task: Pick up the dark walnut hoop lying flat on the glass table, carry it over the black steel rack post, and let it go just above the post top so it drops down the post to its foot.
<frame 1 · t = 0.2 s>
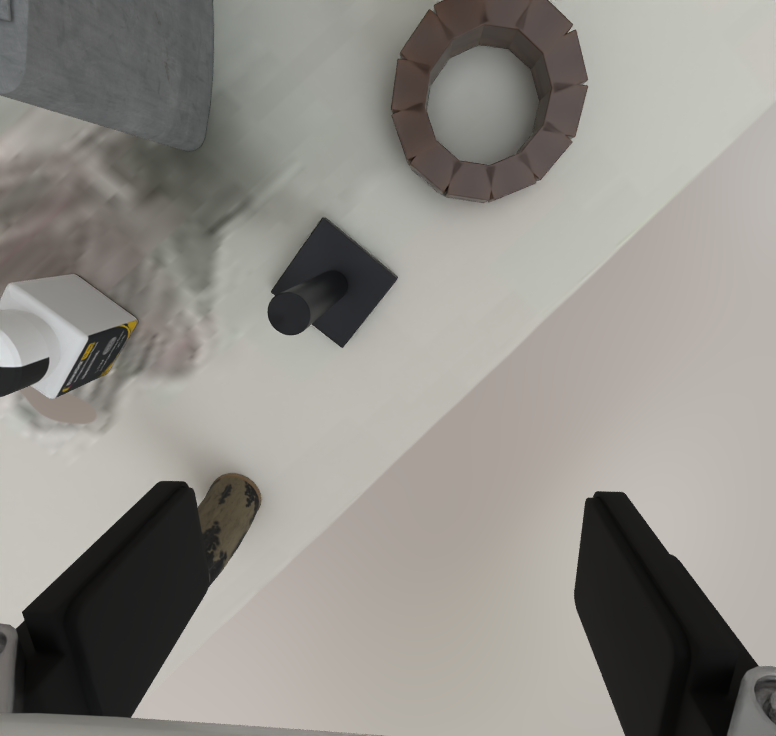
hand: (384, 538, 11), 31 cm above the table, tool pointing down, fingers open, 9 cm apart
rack: (335, 284, 40), on the table
hip flask: (192, 41, 35), on the table
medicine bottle: (93, 324, 43), on the table
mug: (227, 492, 48), on the table
hoop: (481, 110, 35), on the table
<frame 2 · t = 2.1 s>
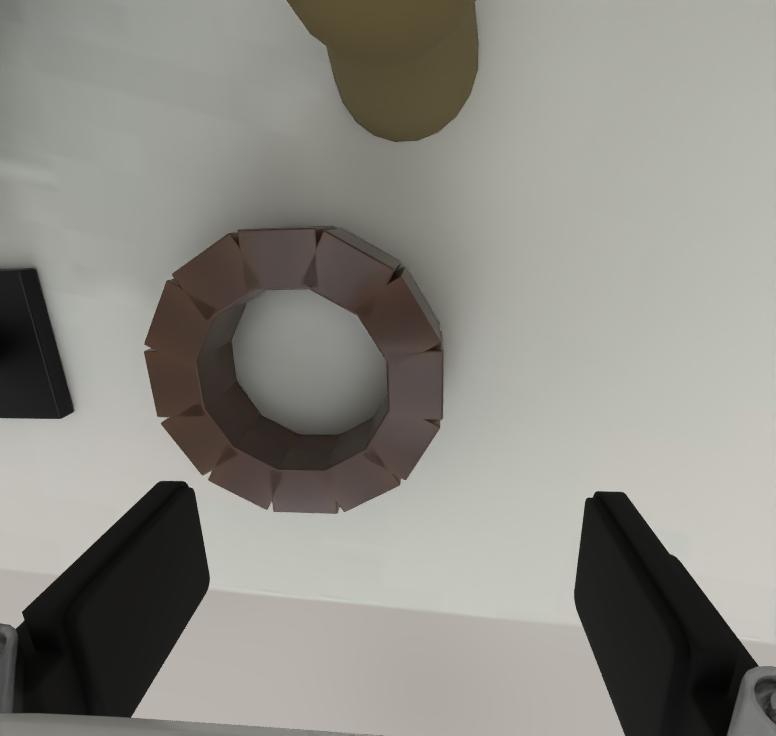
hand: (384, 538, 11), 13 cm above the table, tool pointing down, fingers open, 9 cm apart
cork: (405, 62, 19), on the table
hoop: (312, 361, 23), on the table
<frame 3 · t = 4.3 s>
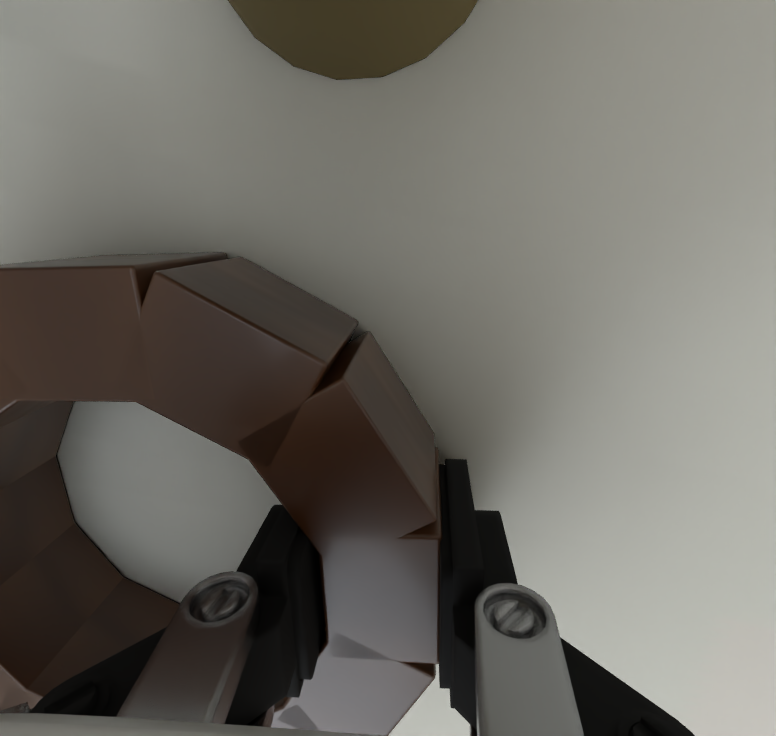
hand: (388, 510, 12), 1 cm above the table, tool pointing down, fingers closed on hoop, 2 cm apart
hoop: (204, 492, 13), on the table, touching gripper
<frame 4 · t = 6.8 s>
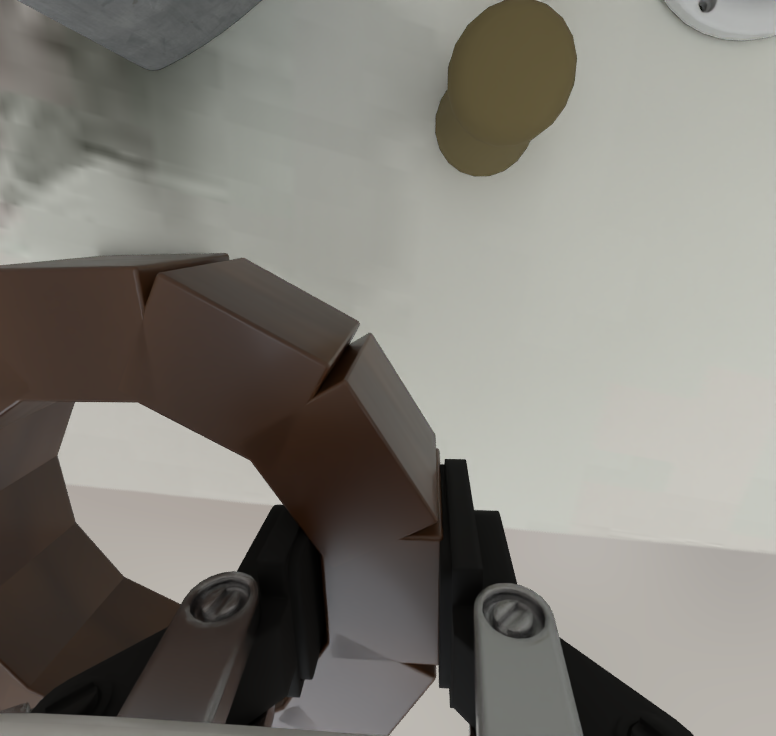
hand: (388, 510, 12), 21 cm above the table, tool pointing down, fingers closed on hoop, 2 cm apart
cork: (484, 124, 28), on the table
hoop: (205, 493, 13), point 21 cm above the table, touching gripper
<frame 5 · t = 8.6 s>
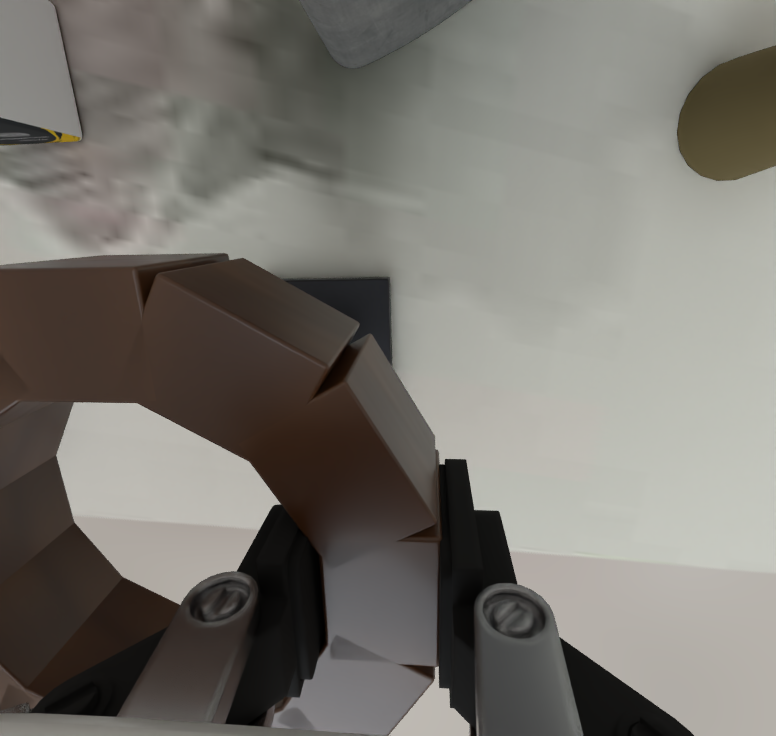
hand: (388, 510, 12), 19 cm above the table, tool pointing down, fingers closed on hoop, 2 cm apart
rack: (331, 338, 30), on the table
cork: (734, 121, 25), on the table
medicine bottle: (19, 79, 27), on the table
hoop: (204, 493, 13), point 18 cm above the table, touching gripper
when the fingers open (15 cm above the table, at t = 9.9 s): hoop drops 13 cm, resting on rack.
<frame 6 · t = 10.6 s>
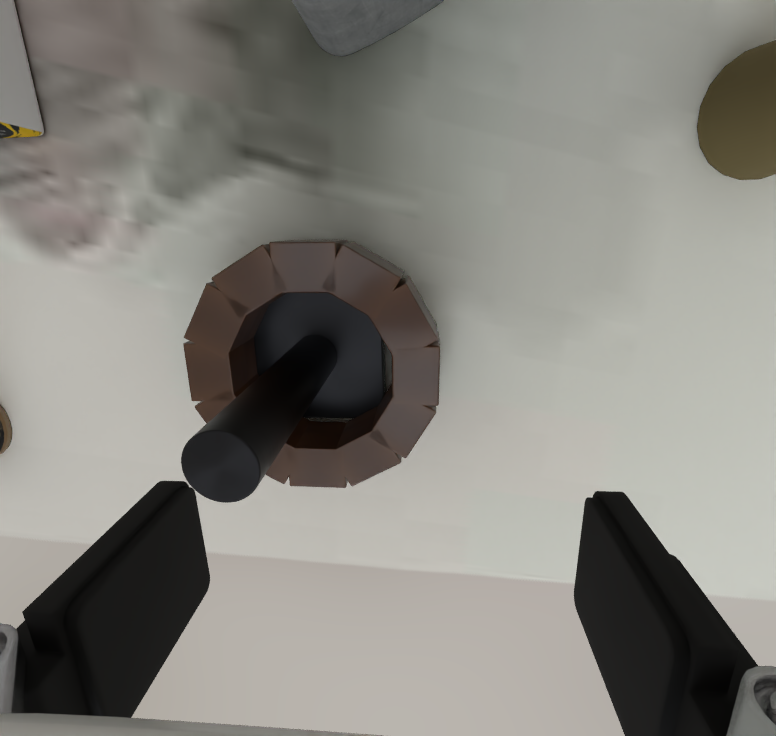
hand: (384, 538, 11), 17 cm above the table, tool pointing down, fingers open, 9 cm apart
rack: (319, 351, 28), on the table
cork: (759, 114, 22), on the table
hoop: (325, 355, 27), point 1 cm above the table, touching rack
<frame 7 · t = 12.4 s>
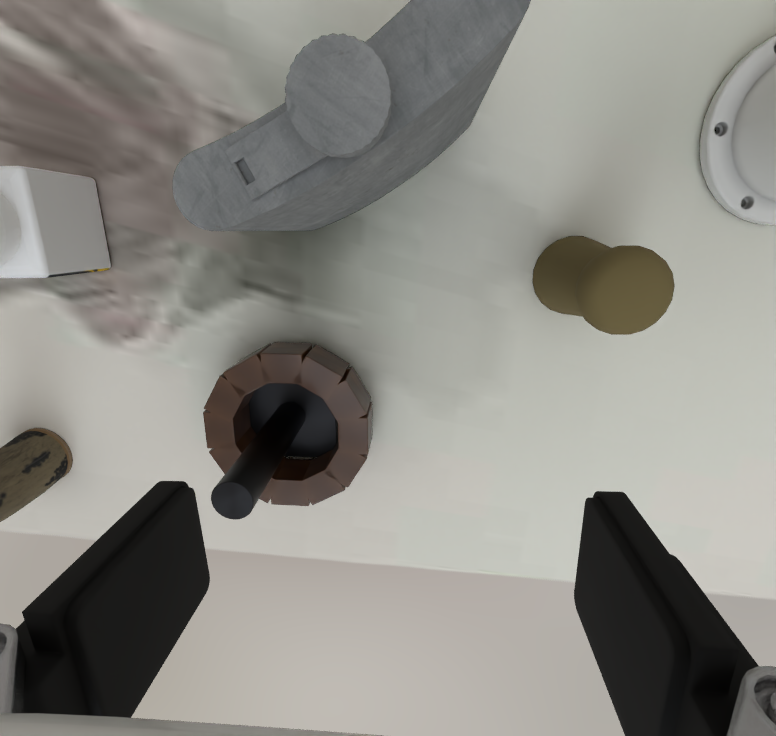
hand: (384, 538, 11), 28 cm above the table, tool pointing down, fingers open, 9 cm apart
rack: (293, 411, 40), on the table
hip flask: (380, 168, 34), on the table
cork: (570, 275, 36), on the table
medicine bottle: (65, 225, 37), on the table
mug: (40, 444, 43), on the table
hoop: (297, 415, 39), point 1 cm above the table, touching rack
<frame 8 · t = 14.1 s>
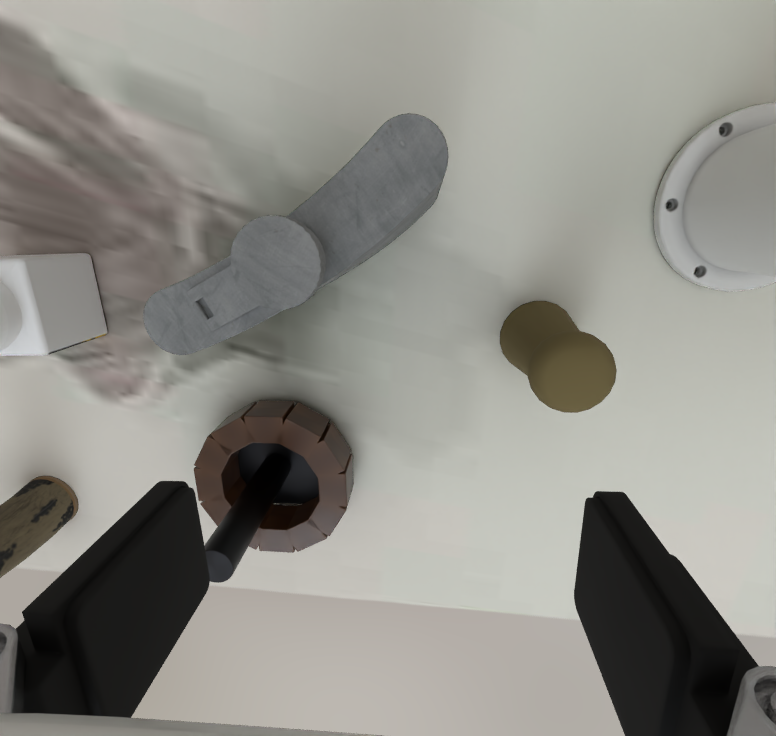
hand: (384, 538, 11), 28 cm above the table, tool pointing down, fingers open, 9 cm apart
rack: (280, 461, 43), on the table
hip flask: (353, 241, 36), on the table
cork: (536, 336, 37), on the table
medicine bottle: (65, 295, 40), on the table
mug: (48, 490, 47), on the table
hoop: (283, 466, 42), point 1 cm above the table, touching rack
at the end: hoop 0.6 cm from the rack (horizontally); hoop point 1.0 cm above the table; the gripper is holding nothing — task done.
